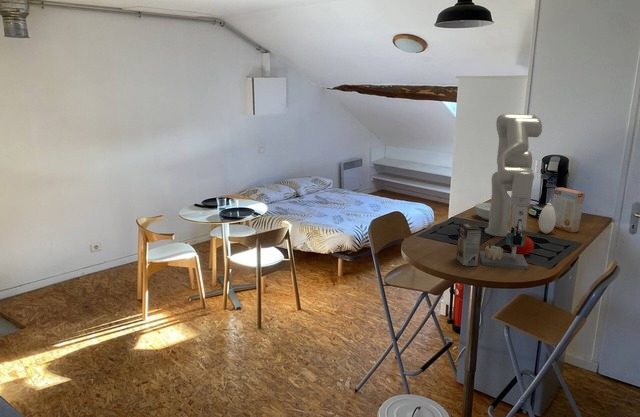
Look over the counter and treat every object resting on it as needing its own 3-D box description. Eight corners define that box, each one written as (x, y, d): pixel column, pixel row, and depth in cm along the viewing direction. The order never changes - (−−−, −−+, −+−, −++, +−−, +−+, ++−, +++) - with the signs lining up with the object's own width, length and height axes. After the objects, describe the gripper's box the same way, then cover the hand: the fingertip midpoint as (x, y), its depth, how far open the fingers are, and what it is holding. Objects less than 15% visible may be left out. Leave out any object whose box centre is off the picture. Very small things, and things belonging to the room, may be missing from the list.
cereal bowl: (473, 221, 273) (474, 208, 271) (473, 213, 288) (474, 201, 286) (506, 224, 268) (507, 211, 266) (504, 216, 283) (506, 204, 281)
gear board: (479, 253, 221) (481, 238, 219) (522, 257, 217) (524, 242, 215) (481, 264, 208) (483, 248, 206) (527, 269, 204) (529, 252, 202)
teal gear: (522, 242, 212) (523, 233, 211) (525, 247, 205) (526, 238, 204) (504, 240, 214) (505, 231, 213) (506, 245, 207) (508, 236, 206)
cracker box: (579, 232, 257) (585, 192, 251) (570, 233, 254) (576, 193, 249) (557, 224, 269) (563, 186, 264) (549, 225, 267) (554, 187, 262)
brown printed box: (455, 258, 215) (458, 222, 211) (470, 258, 216) (473, 222, 212) (462, 265, 207) (466, 228, 202) (477, 265, 207) (481, 228, 203)
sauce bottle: (537, 234, 251) (542, 199, 247) (536, 229, 259) (541, 196, 254) (554, 235, 249) (560, 201, 245) (552, 231, 256) (557, 197, 252)
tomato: (512, 248, 229) (514, 230, 227) (535, 253, 223) (538, 235, 221) (505, 253, 222) (507, 235, 220) (529, 259, 216) (531, 240, 214)
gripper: (533, 206, 196) (528, 249, 200) (526, 196, 212) (521, 236, 217) (513, 205, 197) (508, 247, 202) (508, 195, 214) (503, 235, 218)
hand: (515, 241), depth 209 cm, fingers closed on teal gear, 7 cm apart
